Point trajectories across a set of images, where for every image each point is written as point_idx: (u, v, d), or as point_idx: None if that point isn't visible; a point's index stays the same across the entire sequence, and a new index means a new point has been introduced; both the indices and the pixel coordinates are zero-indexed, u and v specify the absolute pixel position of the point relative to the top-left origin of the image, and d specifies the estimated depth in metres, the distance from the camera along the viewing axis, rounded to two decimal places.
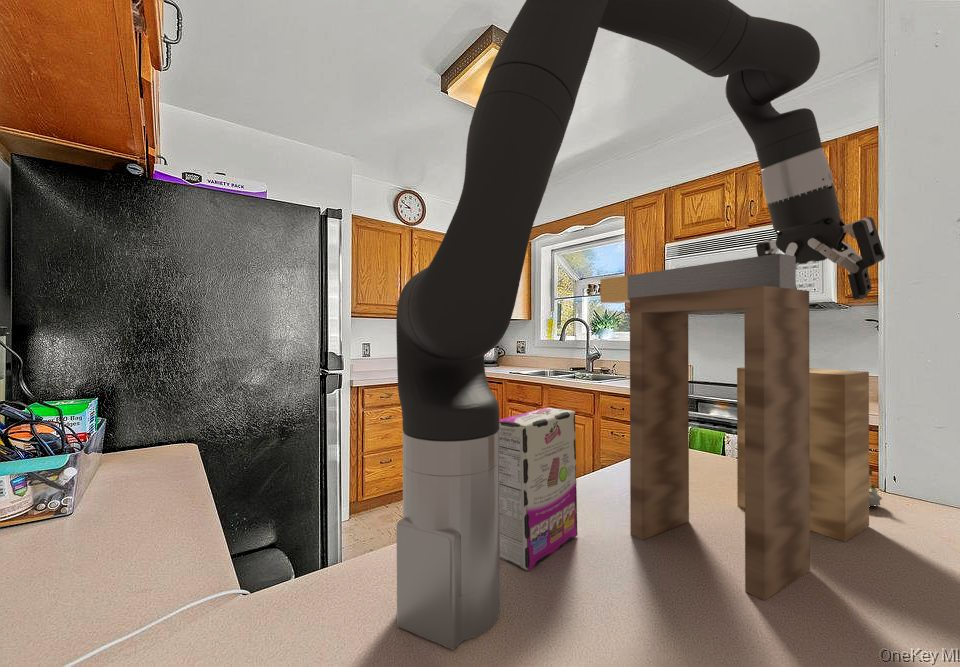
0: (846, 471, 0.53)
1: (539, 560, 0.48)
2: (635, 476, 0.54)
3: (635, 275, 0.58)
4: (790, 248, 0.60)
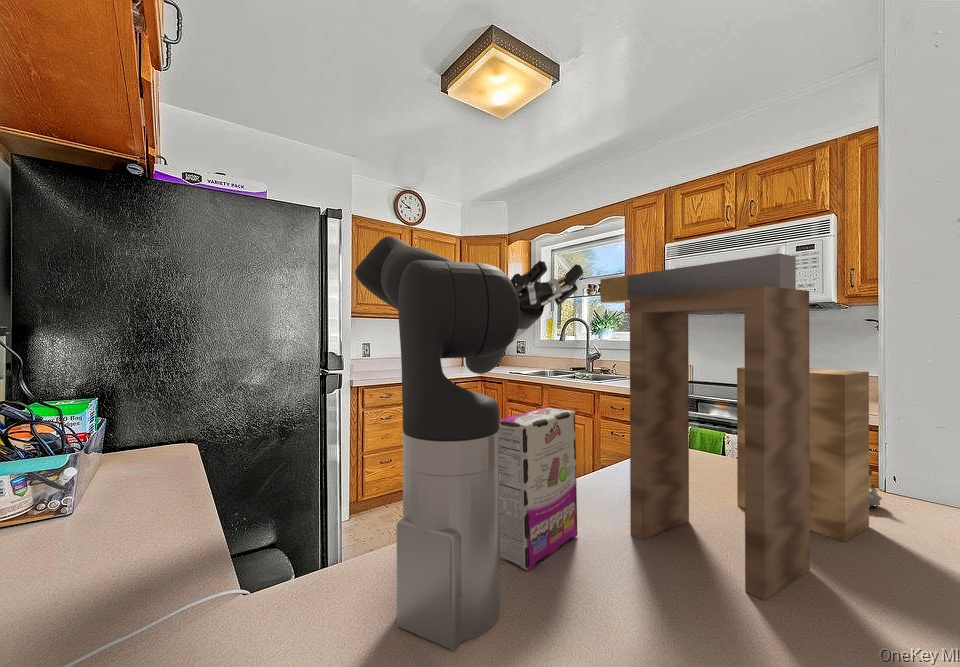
0: (846, 471, 0.53)
1: (539, 560, 0.48)
2: (635, 476, 0.54)
3: (635, 275, 0.58)
4: None
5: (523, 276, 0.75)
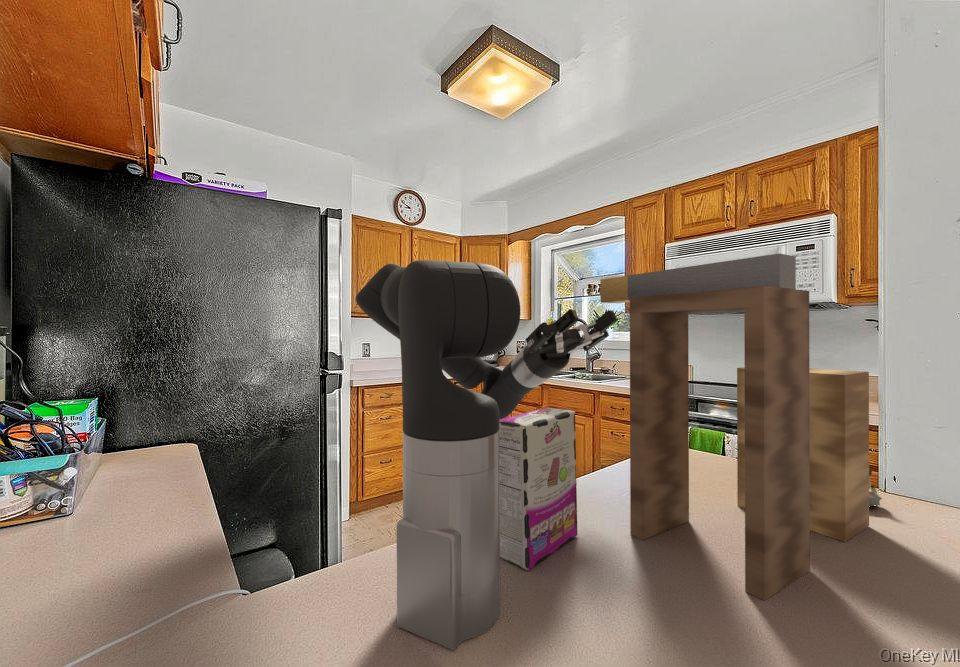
0: (846, 471, 0.53)
1: (539, 560, 0.48)
2: (635, 476, 0.54)
3: (635, 275, 0.58)
4: None
5: (550, 325, 0.67)
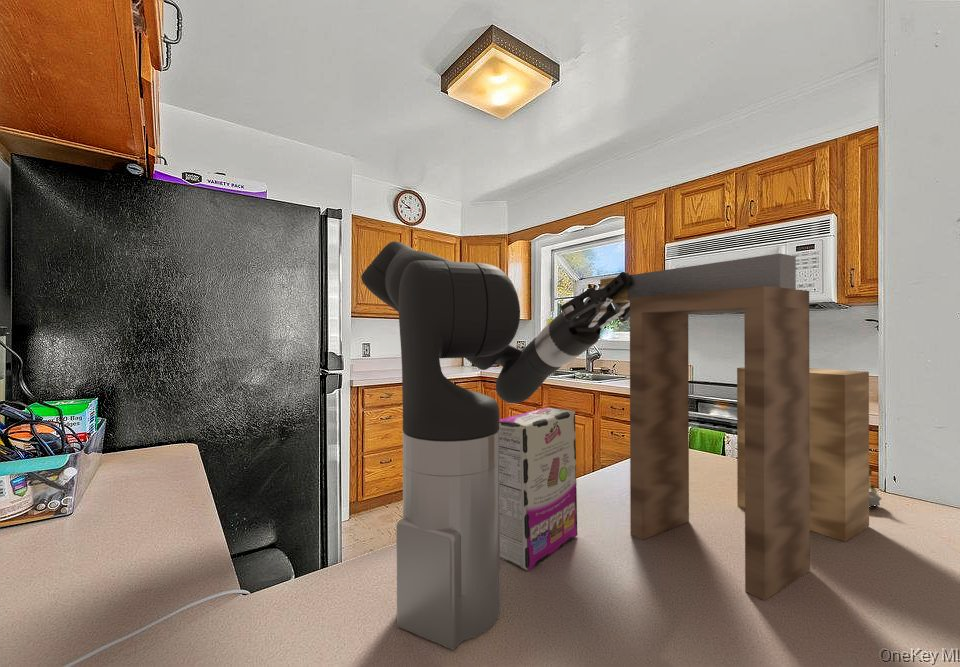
0: (846, 471, 0.53)
1: (539, 560, 0.48)
2: (635, 476, 0.54)
3: (635, 275, 0.58)
4: None
5: (599, 291, 0.61)
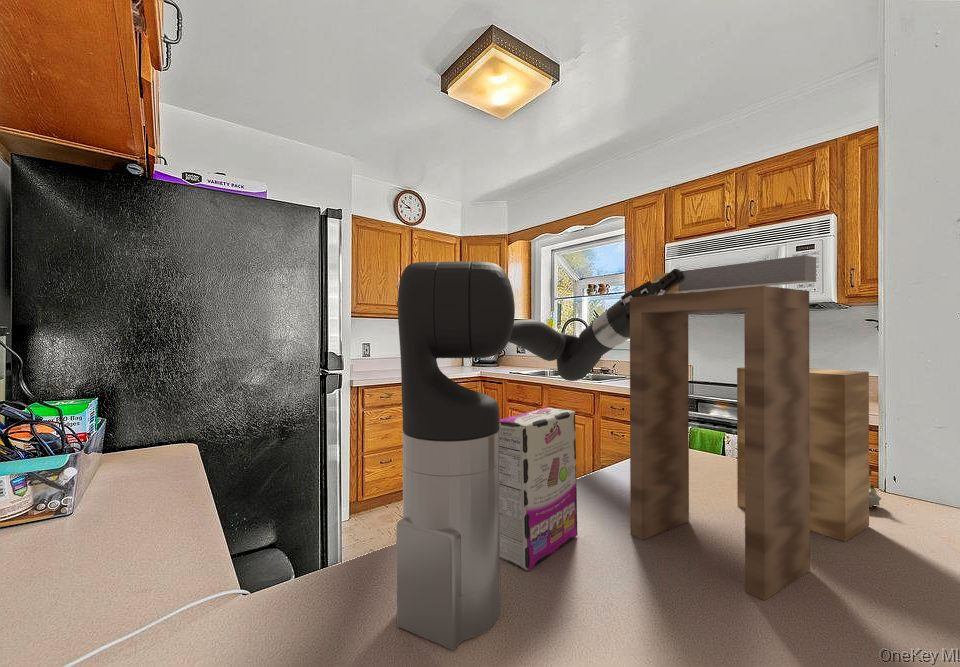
0: (846, 471, 0.53)
1: (539, 560, 0.48)
2: (635, 476, 0.54)
3: (685, 271, 0.73)
4: None
5: (655, 284, 0.76)
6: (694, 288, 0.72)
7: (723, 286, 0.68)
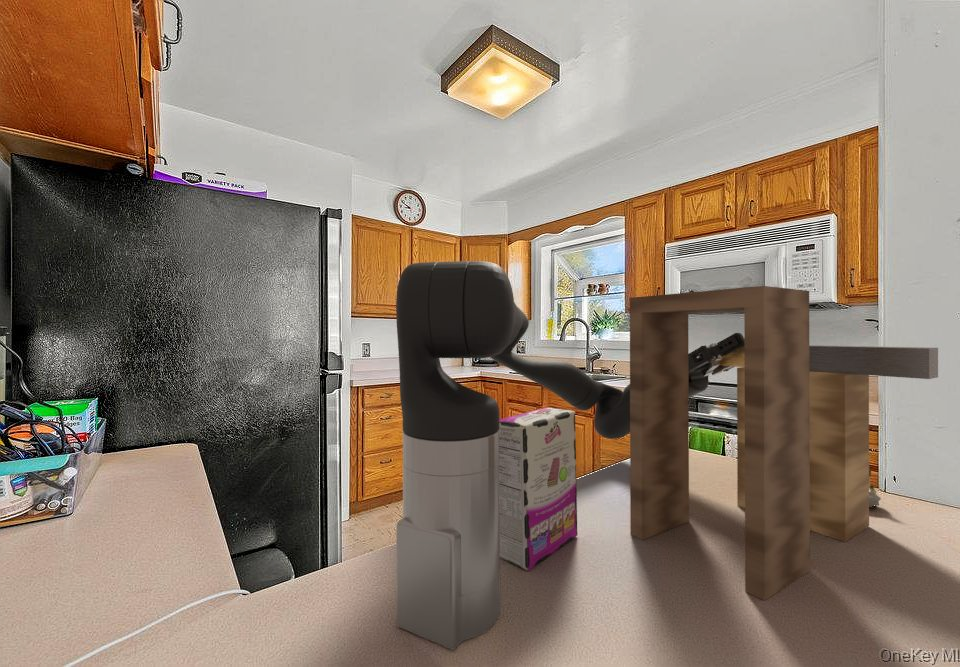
0: (846, 471, 0.53)
1: (539, 560, 0.48)
2: (635, 476, 0.54)
3: None
4: None
5: (711, 348, 0.66)
6: None
7: (812, 370, 0.58)
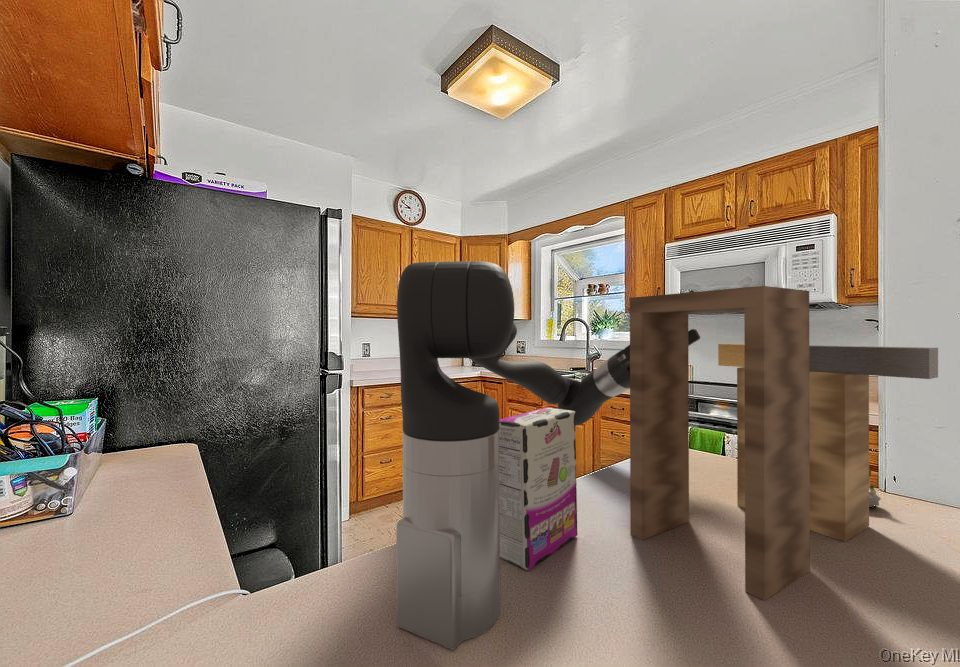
0: (846, 471, 0.53)
1: (539, 560, 0.48)
2: (635, 476, 0.54)
3: None
4: None
5: None
6: None
7: (812, 370, 0.58)
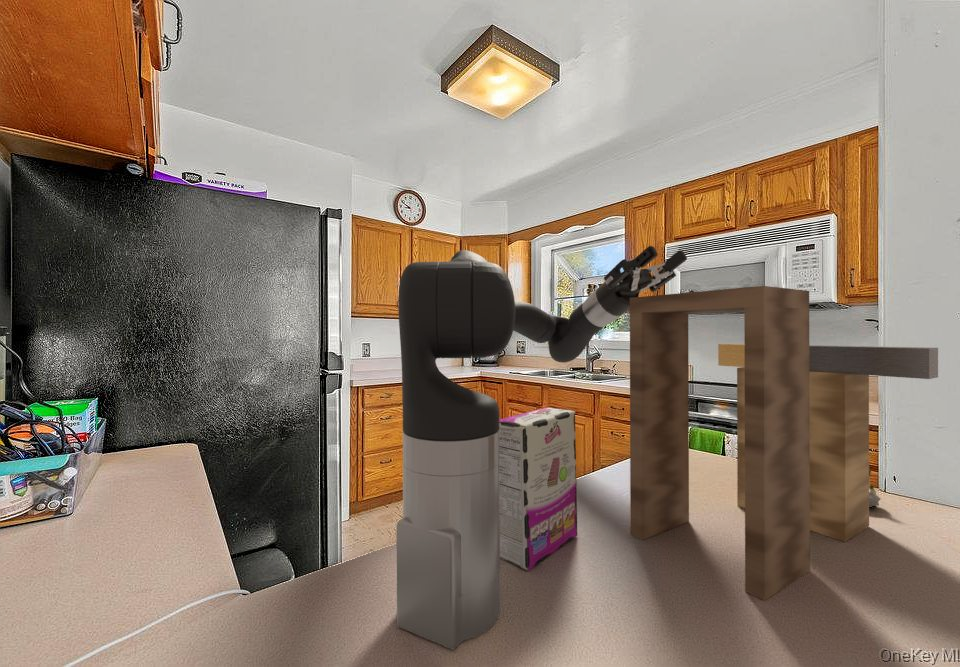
0: (846, 471, 0.53)
1: (539, 560, 0.48)
2: (635, 476, 0.54)
3: None
4: None
5: (630, 262, 0.76)
6: None
7: (812, 370, 0.58)
